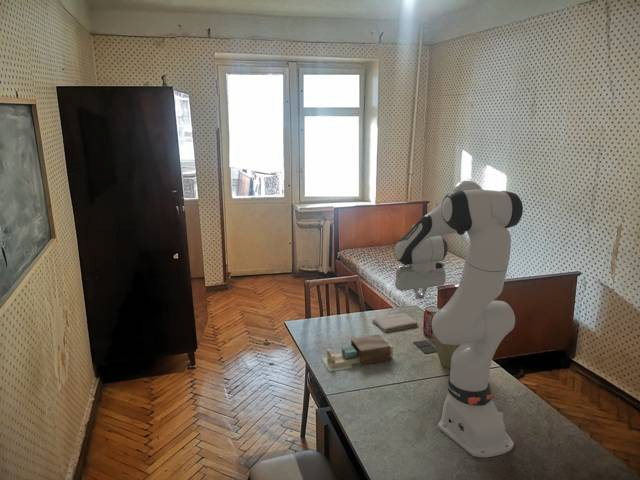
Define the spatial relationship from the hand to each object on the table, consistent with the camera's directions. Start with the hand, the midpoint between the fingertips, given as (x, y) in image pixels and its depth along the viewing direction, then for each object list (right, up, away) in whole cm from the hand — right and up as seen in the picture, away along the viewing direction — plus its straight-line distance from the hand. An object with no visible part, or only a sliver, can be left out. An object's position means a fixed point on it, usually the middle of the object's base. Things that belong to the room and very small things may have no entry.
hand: (419, 298), depth 179 cm
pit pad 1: (+4, -21, +13) cm, 24 cm away
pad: (-32, -25, -2) cm, 41 cm away
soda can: (+9, -19, +21) cm, 30 cm away
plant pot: (+11, -25, -3) cm, 27 cm away
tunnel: (-19, -24, +2) cm, 30 cm away
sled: (-23, -24, +1) cm, 33 cm away
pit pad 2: (+5, -22, +8) cm, 24 cm away
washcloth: (-4, -17, +31) cm, 36 cm away
